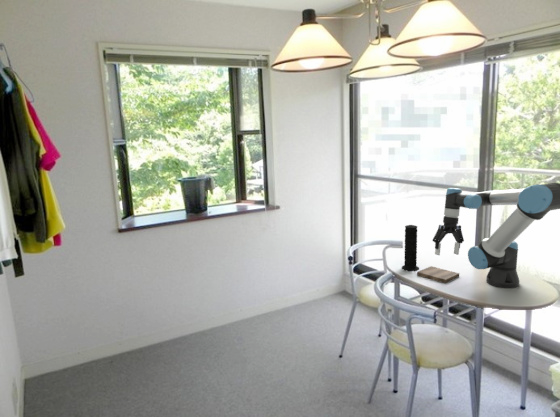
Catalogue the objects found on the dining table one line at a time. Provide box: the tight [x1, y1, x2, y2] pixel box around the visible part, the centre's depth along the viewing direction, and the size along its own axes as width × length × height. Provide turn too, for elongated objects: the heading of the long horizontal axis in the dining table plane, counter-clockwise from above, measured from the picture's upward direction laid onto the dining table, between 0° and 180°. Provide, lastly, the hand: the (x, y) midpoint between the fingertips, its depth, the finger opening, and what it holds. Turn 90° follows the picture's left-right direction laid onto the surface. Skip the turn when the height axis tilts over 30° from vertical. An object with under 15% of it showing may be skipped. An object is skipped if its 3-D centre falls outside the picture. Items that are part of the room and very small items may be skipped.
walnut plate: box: [416, 265, 460, 284], centre depth 222 cm, size 17×14×2 cm
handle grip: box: [401, 224, 420, 272], centre depth 234 cm, size 10×26×10 cm
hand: (446, 254), depth 220 cm, fingers open, 13 cm apart
